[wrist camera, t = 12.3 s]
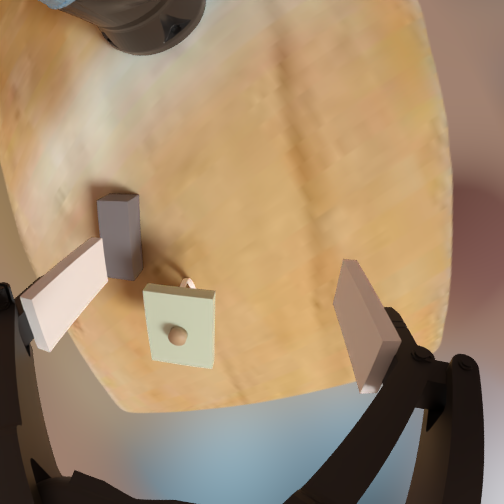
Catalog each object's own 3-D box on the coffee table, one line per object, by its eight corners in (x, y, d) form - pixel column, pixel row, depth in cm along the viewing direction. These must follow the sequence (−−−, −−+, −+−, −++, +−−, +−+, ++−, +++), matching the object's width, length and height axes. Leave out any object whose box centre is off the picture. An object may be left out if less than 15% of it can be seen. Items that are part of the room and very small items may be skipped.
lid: (147, 283, 38) (139, 295, 35) (215, 290, 38) (211, 304, 35) (155, 351, 43) (149, 365, 40) (214, 359, 43) (211, 374, 40)
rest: (109, 193, 42) (96, 200, 38) (138, 194, 42) (127, 201, 38) (115, 265, 46) (105, 277, 43) (143, 268, 46) (134, 280, 43)
